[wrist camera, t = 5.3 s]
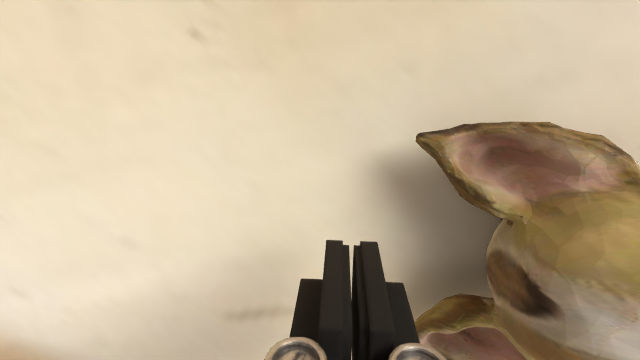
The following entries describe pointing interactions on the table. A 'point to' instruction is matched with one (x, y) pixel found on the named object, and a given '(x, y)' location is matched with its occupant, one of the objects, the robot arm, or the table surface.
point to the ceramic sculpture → (543, 245)
